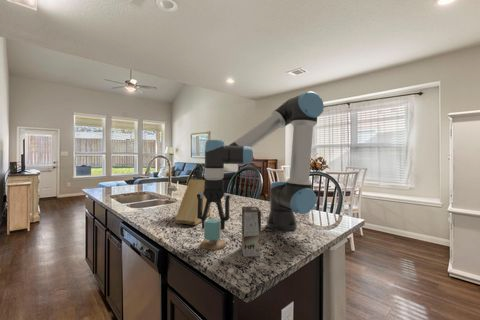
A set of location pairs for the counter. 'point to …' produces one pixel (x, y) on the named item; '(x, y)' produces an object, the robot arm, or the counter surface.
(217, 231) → the teal rectangular block
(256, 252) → the coffee box
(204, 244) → the post
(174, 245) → the counter surface
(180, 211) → the knife block
